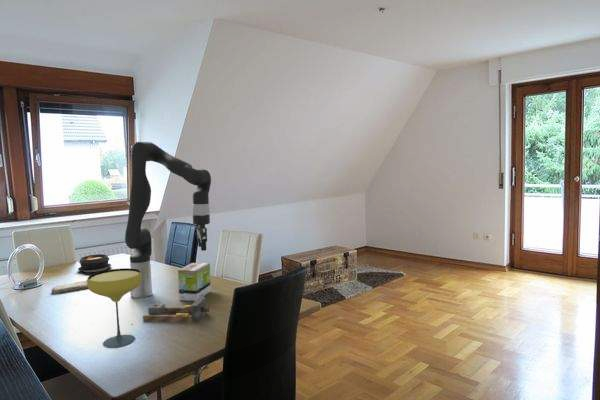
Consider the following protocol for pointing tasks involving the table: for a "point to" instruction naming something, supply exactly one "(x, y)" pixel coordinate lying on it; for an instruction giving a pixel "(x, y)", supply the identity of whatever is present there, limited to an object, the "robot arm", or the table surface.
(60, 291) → the elongated rock
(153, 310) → the dice cube
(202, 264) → the tea box
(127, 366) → the table surface
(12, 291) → the table surface
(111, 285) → the cocktail glass
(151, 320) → the guide channel
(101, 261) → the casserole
